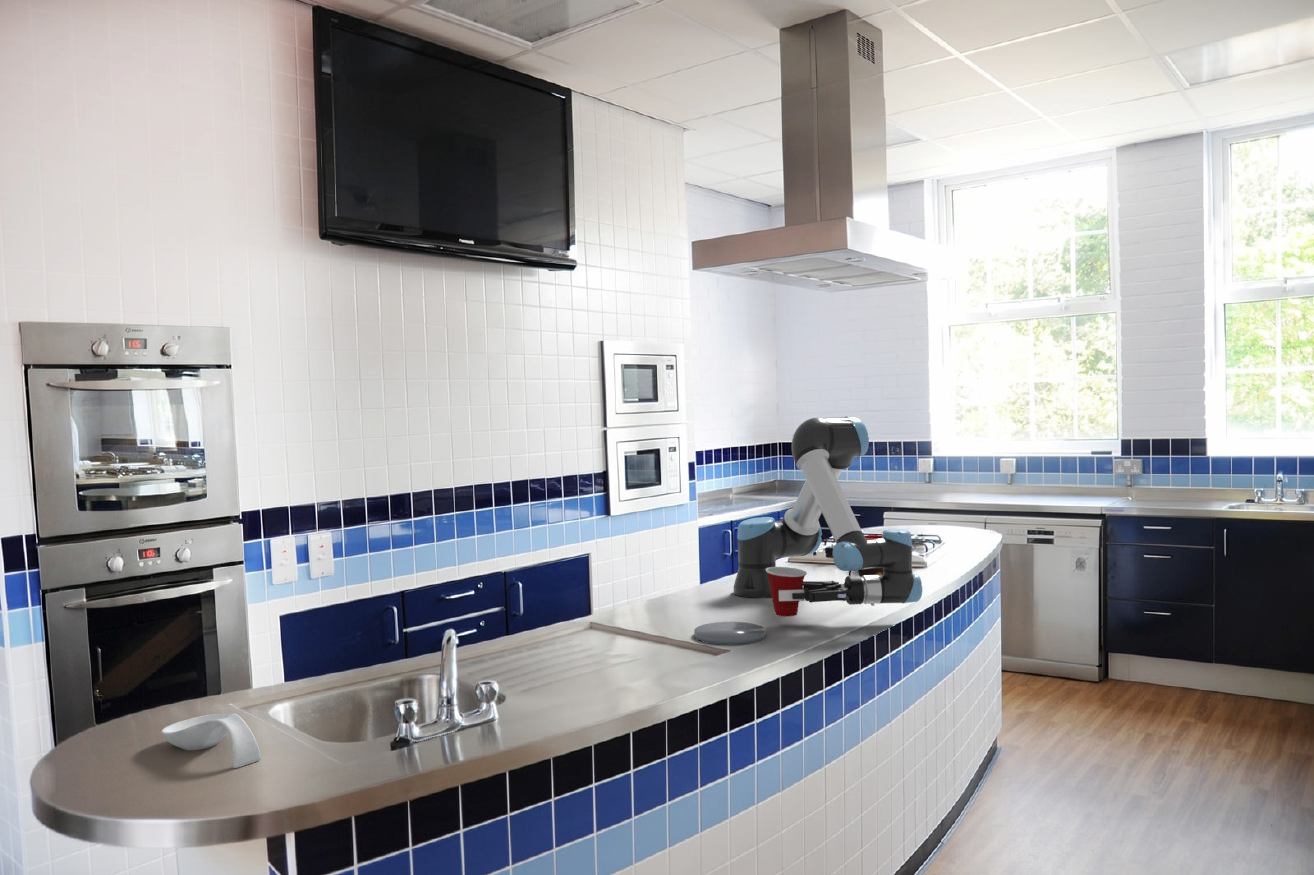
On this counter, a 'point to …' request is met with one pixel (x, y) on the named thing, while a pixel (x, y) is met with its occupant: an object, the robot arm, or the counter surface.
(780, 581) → the plastic cup
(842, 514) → the robot arm
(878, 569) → the coffee mug
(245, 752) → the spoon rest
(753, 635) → the gray round coaster
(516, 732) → the counter surface
